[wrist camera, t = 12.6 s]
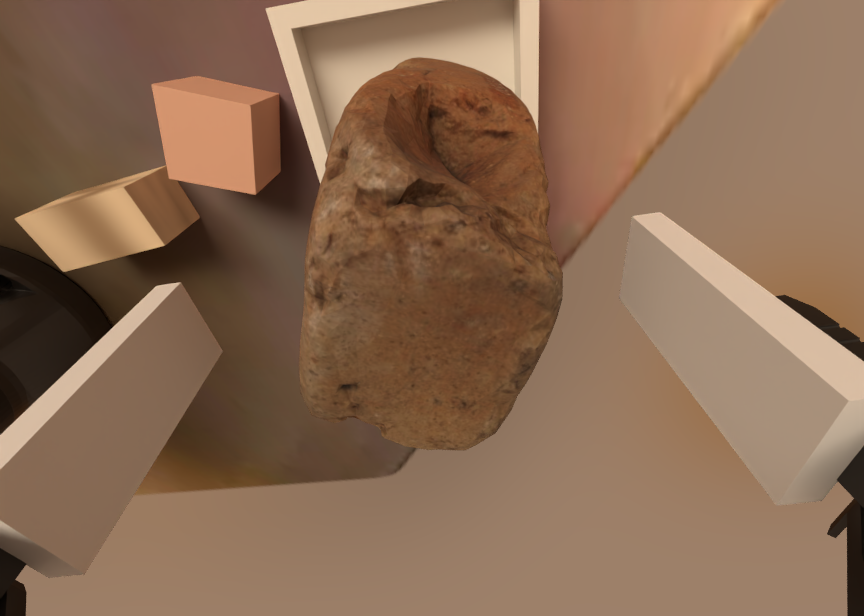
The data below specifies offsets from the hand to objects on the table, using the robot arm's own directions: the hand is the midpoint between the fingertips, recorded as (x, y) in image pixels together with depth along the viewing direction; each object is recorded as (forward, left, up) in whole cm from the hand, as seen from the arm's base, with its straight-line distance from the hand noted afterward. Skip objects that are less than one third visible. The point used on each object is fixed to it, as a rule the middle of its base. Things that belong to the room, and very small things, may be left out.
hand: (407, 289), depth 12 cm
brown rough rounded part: (0, 0, -18) cm, 18 cm away
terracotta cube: (-12, +3, -19) cm, 22 cm away
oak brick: (-22, -1, -19) cm, 29 cm away
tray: (0, 0, -19) cm, 18 cm away
